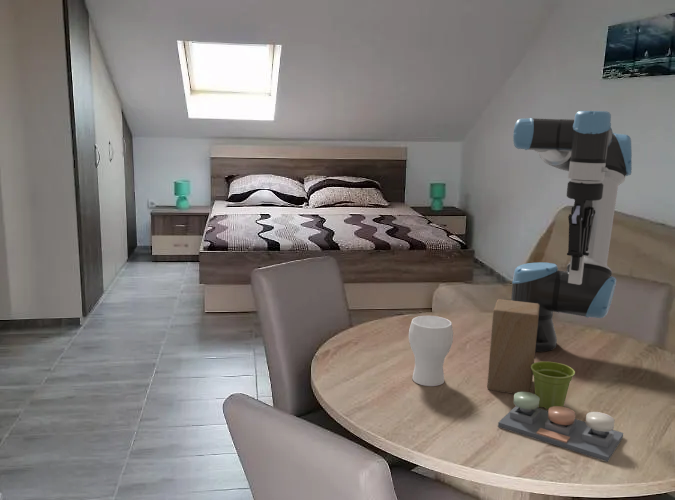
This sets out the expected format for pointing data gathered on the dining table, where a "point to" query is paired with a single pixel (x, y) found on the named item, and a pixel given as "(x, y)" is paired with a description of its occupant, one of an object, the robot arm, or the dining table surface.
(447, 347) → the cup
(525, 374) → the wooden block
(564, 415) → the button terracotta
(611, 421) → the button cream
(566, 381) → the plant pot
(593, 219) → the robot arm
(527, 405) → the button sage
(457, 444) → the dining table surface
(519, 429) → the console
